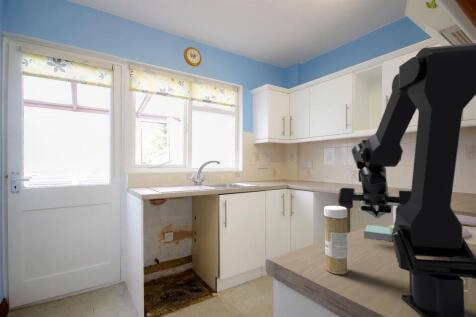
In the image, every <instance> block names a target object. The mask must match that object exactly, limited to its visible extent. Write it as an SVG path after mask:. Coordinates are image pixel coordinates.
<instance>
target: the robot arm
mask: <svg viewBox="0 0 476 317" xmlns="http://www.w3.org/2000/svg"><path fill="white" fill-rule="evenodd" d="M475 97H476V42H475V43H474V42H473V43H464V44H463V43H462V44H451V45H440V46H439V45H438V46H430V47H428V46H427V47H423V48H421V49H420V50H418V52H417V53H416V55H415V56H413V57H411V58H410V59H408V60H407V61H405V62H403V63H402V64H401V65H399V66H398V73H397V74H396V75H395V76H393V80H392V82H391V94H390V96H389V98H388V101H387V103H386V107H385V108H384V112H383V114H382V117H381V119H380V122H379V125H378V126H377V130H376V132H375V133H374V134H373V135H370V137H368V138H367V139H361V142H360V143H358V144H356V145H355V146H354V147H353V148H352V149H351V155H352V157H353V160H354V162H355V163H354V164H355V165H356V168H357V169H358V171H357V172H358V175H357V176H358V177H357V178H358V182H359V183H361V188H362V192H356V190H355V187H341V188H340V189H339V194H338V198H337V200H338V206H342V207H345V208H347V209H353V208H354V201H357V202H360V210H361V211H363V212H365V213H367V214H370V215H371V216H373V217H374V218H375V219H380V218H381V217H382V216H384V215H386V214H391V213H392V206H393V207H395V220H394V223H393V229H392V231H391V232H392V242H393V247H394V254H395V258H396V261H397V263H398V267H399V268H400V269H401V270H404V271H406V272H407V271H408V272H409V273H408V275H409V293H410V294H401V295H400V297H401V300H402V301H404V303H406V304H407V305H408V306H409V307H411V308H412V309H413V310H414V311H415V312H416V313H418V314H419V315H420V316H421V317H472V316H471V315H470V314H468V313H467V312H466V311H465V284H464V278H469V279H473V280H475V279H476V256H475V254H474V253H473V251H472V249H471V248H470V247H469V245H468V243H467V242H466V240H465V239H464V237H463V236H464V235H463V228H464V227H463V224H462V222H461V221H460V220H459V218H458V216H457V215H456V213H455V212H454V210H453V209H452V197H453V191H454V181H455V176H456V174H455V173H456V169H457V168H456V166H457V159H458V152H459V142H460V134H461V128H462V121H463V120H462V119H463V113H464V109H465V108H466V107H467V105H469V104H470V102H471V101H472V100H474V98H475ZM416 111H418V115H417V116H418V118H417V128H416V137H415V148H414V161H413V170H412V178H411V179H412V181H411V182H412V183H411V189H410V190H404V189H403V190H400V189H399V190H398V196H392V194H391V192H389V191H388V190H389V187H388V180H387V169H386V168H393V167H394V168H395V167H397V166H398V165H399V163H400V161H402V160H401V159H402V156H403V152H404V150H403V148H402V145H401V142H402V140H403V138H404V135H405V133H406V131H407V129H408V128H409V126H410V123H411V121H412V119H413V117H414V115H415V113H416ZM376 206H377V207H376ZM417 257H430V258H431V257H432V258H433V257H435V258H449V259H448V260H445V259H444V260H443V259H426V258H425V259H424V258H417Z"/></svg>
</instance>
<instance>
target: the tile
mask: <svg viewBox="0 0 476 317" xmlns="http://www.w3.org/2000/svg"><path fill="white" fill-rule="evenodd" d="M392 232H393V231H392V227H389V226H380V225H373V224H371V225H370V224H365V228H364V230H363V238H364V239H370V240H374V239H376V240H375V241H381V240H384V241H383V242H388V241H391V242H390V243H392V242H393V237H392Z"/></svg>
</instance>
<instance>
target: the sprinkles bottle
mask: <svg viewBox="0 0 476 317" xmlns="http://www.w3.org/2000/svg"><path fill="white" fill-rule="evenodd" d="M323 215H324V221H325V222H324V226H325V229H324V250H325V251H324V252H325V266H324V267H325V270H326V271H328V273H330V274H331V273H332V274H334V275H335V274H336V275H345V274H347V273H348V272H349V269H348V231H347V229H348V228H347V220H348V208H345V207H342V206H339V205H326V206H324V207H323Z"/></svg>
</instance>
